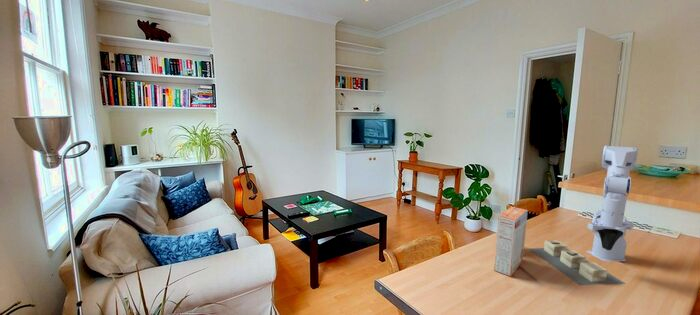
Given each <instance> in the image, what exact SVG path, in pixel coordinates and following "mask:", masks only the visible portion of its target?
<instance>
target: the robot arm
mask: <svg viewBox="0 0 700 315" xmlns="http://www.w3.org/2000/svg"><path fill="white" fill-rule="evenodd" d="M638 151H639V149H638V148H637V147H635V146H634V147H631V146H630V147H629V146H616V145H615V146H614V145H613V146H612V145H604V146H603V152H602V156H601V165H602V166H601V167H602V168H604V169H605V170H606V171H607V173H606V177H604V183H603V196H602V197H603V199H602V205H601V209H600V210H599V209H598V211H595V212H594V213H593V217H592V221H591V222H589V223H587V229H588V230H591V232H593V233H594V236H593V243H592V248H591V250H586V251H585V252H587V253H588V254H590V255H591V256H593V257H595V258H597V259H599V260H601V261H603V262H616V261H617V262H627V259H626V258H625V255H626V250H627V242H626V239H625V237H626V233H627V230H634V229H633V228H634V224H633V223H631V222H628V221H627V220H628V219H627V218H626V216H625V211H626V207H627V206H626V205H627V199H628V196H629V195H630V193H631V190H632V189H631V188H632V179H631V177H630V171H633V170H634V168H635V165H636V162H637V160H638V155H639V153H638Z"/></svg>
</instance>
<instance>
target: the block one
mask: <svg viewBox="0 0 700 315" xmlns="http://www.w3.org/2000/svg"><path fill="white" fill-rule="evenodd" d="M543 248H544V251H546V252H548V253H549V254H551V255H552V256H561V251H566V248H567V245H565V244H563V242H560V241H558V240H555V239H554V240H544V246H543Z"/></svg>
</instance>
